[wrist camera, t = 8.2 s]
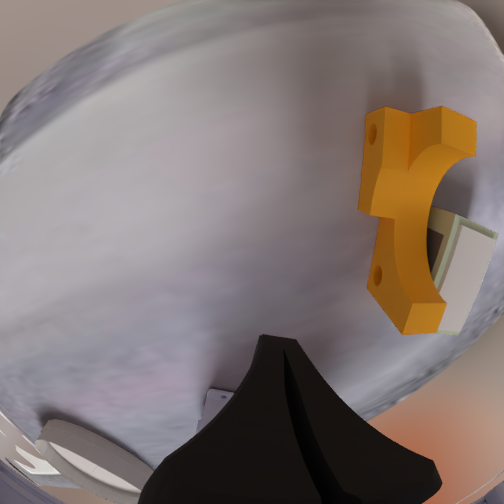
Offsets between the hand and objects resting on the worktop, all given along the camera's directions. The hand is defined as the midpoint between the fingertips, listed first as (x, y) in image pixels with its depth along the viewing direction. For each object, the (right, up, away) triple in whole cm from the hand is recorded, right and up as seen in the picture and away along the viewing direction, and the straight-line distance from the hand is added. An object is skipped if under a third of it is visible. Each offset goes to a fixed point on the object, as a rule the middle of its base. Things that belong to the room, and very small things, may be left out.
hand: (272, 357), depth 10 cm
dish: (-26, -31, +21) cm, 45 cm away
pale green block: (+13, +3, +8) cm, 16 cm away
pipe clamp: (+8, +7, +8) cm, 13 cm away
